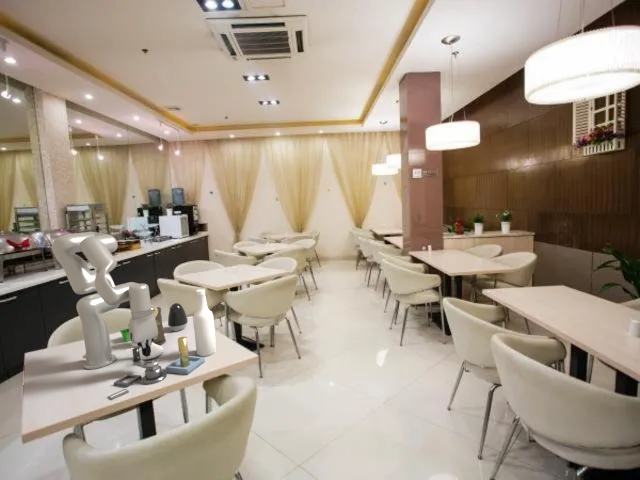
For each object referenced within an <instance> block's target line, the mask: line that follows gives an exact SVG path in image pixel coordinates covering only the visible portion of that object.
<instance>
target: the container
mask: <svg viewBox="0 0 640 480" xmlns="http://www.w3.org/2000/svg"><path fill="white" fill-rule="evenodd" d="M156 307H157V309H158V310H157V311H158V314H157V316H156V318H155V320H157V321H158V322H159V323H160V324H159V325H157V329H158V338H157V339H155V340H154V341H153V343H155V344H157V345H159V346H162V345H164V344H165V343H166V342H167V339H166V336H165V331H164V326H163V319H162V317H163V316H162V308H161V307H158V306H156Z"/></svg>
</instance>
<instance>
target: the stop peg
mask: <svg viewBox="0 0 640 480" xmlns="http://www.w3.org/2000/svg"><path fill="white" fill-rule="evenodd" d="M187 337H188V336H181V337H178V338H177V346H178V347H177V348H178V352H179V353H178V354H179V358H180V364H181V367H187V366H189V365H190V362H189V356H190V354H189V346H188V339H187Z"/></svg>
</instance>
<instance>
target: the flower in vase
mask: <svg viewBox="0 0 640 480" xmlns="http://www.w3.org/2000/svg"><path fill="white" fill-rule="evenodd" d="M151 307H152V308H154V309H155V310H154V311H152V314H153V315H154V317H155V318H156V316H157V314H158V311H157V310H158V309H157V307H158V306H155V305H153V304H151ZM156 324H157V325H159V324H160V323H159V322H158V321H157V320H156ZM150 348H151V353H150V356H148V357H146V356H144V355H143V354H142V348H140V349H139V353H140V360H153V359H155V358H157V357H159V356H160V355H162V354H163V353H164V351H165V349H164V348H163V346H162V345H157V344H155V343H153V342H152V344H151V346H150Z"/></svg>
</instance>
